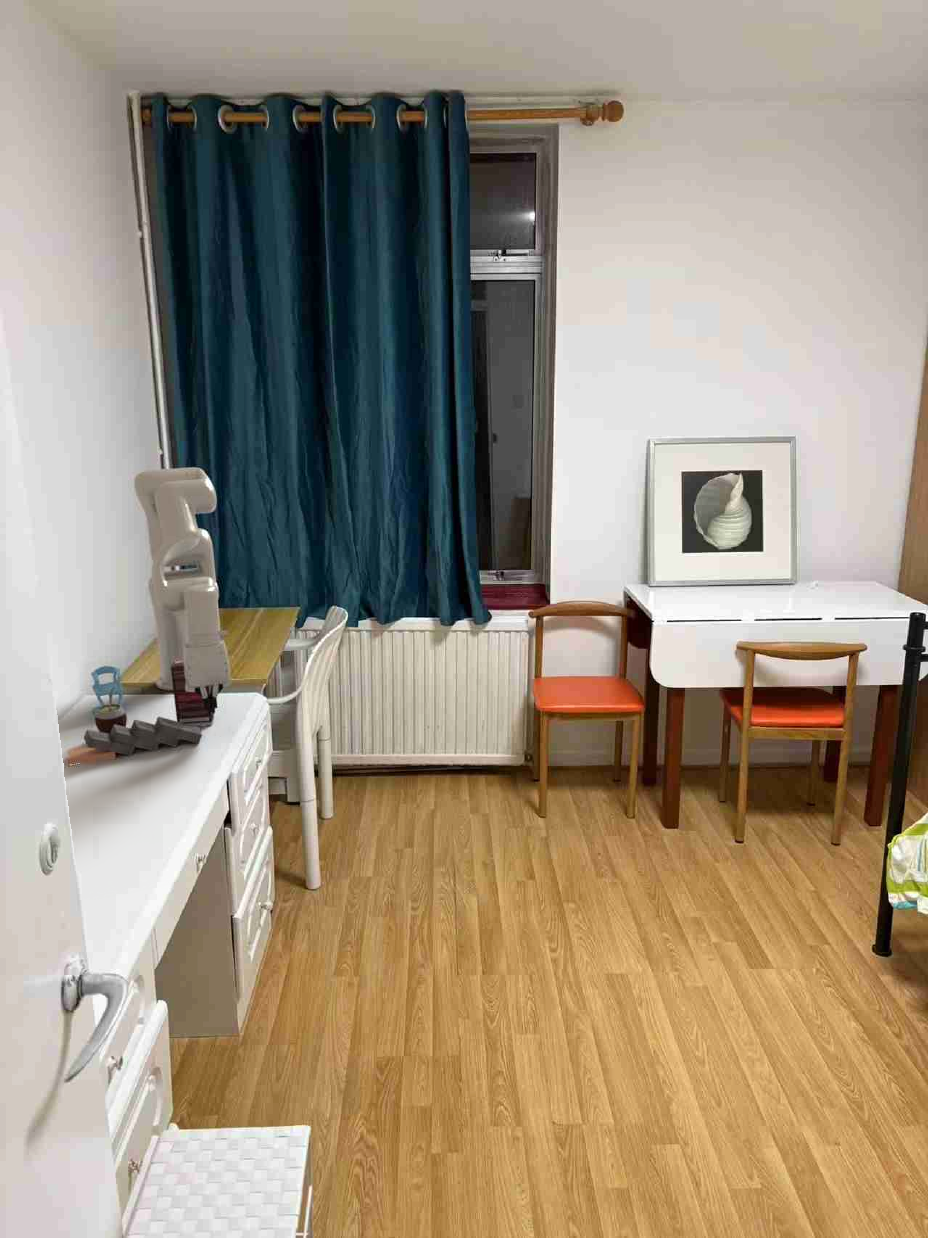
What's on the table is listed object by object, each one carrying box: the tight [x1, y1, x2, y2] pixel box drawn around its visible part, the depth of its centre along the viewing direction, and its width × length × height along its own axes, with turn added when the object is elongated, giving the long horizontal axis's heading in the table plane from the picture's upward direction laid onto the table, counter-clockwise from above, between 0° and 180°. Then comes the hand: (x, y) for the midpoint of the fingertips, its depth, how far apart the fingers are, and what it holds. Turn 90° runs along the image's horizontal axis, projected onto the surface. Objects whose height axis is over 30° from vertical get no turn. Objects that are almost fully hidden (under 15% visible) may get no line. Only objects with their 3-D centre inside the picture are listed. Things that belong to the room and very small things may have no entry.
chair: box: [90, 665, 125, 714], centre depth 243 cm, size 8×8×12 cm
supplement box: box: [171, 660, 215, 727], centre depth 236 cm, size 9×5×16 cm, turn 98°
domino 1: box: [83, 729, 136, 756], centre depth 219 cm, size 5×2×10 cm
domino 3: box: [130, 718, 180, 748], centre depth 224 cm, size 5×2×10 cm
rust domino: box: [66, 746, 117, 766], centre depth 219 cm, size 5×2×10 cm
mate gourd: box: [94, 687, 128, 734], centre depth 226 cm, size 8×8×15 cm
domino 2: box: [111, 724, 160, 752], centre depth 222 cm, size 5×2×10 cm
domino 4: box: [154, 716, 203, 744], centre depth 226 cm, size 5×2×10 cm
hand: (210, 711), depth 227 cm, fingers closed
